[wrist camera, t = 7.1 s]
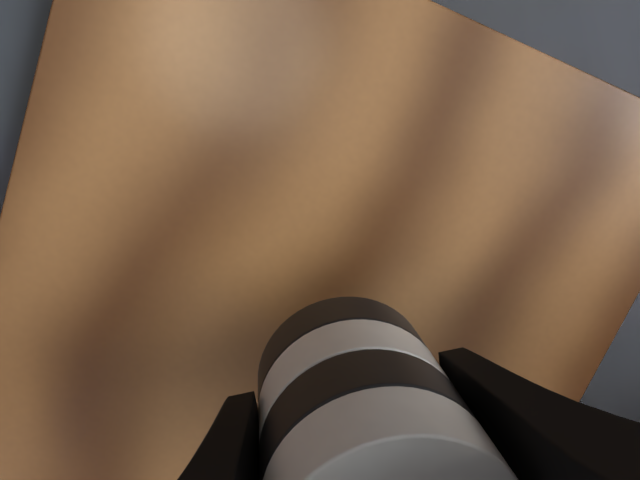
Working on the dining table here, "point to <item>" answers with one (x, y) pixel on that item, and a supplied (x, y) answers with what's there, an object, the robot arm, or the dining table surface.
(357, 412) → the cylinder
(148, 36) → the wooden mat
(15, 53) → the dining table surface
